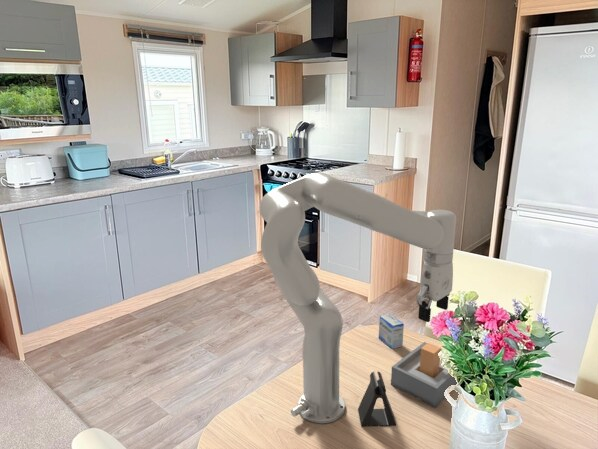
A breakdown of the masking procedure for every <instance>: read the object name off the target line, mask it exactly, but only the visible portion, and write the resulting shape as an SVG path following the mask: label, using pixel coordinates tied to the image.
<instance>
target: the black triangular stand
mask: <svg viewBox="0 0 598 449" xmlns="http://www.w3.org/2000/svg"><path fill="white" fill-rule="evenodd" d="M369 374H370V375H369V379H370V380H369V383H368V385H367V388H366V390H365V392H364V394H363V397H362V399H361V402H360V404H359V405H358V408H357V412H358V418H359V422H360V426H361V428H362V427H365V428H366V427H368V428H371V427H396V426H397V421H396V418H395V416H394V415H395V414H394V412H393V409H392V407H391V403H390V401H389V399H388V395H387V393H386V392H387V389H386V385H385V382H384V379H383V374H382V373H381V372H380V371H377V376H378V380H377V376H376V374H375V371H372V372H371V373H369ZM378 399H382V402H383V406H384V408H375V405H376V402H377V401H378Z"/></svg>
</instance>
